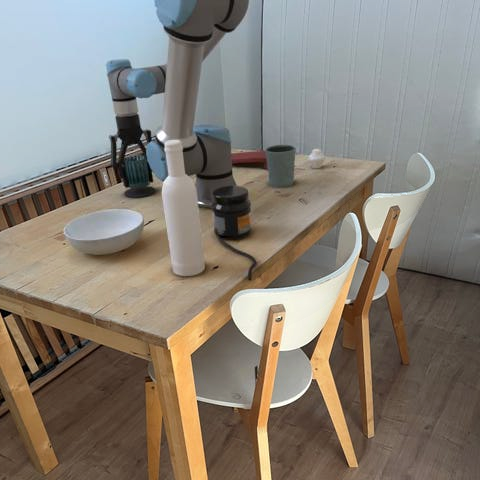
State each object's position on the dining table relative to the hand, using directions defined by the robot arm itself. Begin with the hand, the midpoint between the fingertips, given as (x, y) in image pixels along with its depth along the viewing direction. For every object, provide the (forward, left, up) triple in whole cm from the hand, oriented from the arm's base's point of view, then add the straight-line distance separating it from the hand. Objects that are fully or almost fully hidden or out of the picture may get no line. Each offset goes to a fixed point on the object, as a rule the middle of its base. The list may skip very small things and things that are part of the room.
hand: (138, 184), depth 168 cm
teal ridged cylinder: (0, +4, +4) cm, 6 cm away
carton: (+8, -46, -3) cm, 47 cm away
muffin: (-14, -65, -3) cm, 67 cm away
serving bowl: (-39, +22, -3) cm, 45 cm away
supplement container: (-51, -10, -3) cm, 52 cm away
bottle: (-64, +9, -3) cm, 65 cm away
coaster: (0, 0, -3) cm, 3 cm away
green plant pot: (-22, -44, -3) cm, 49 cm away
